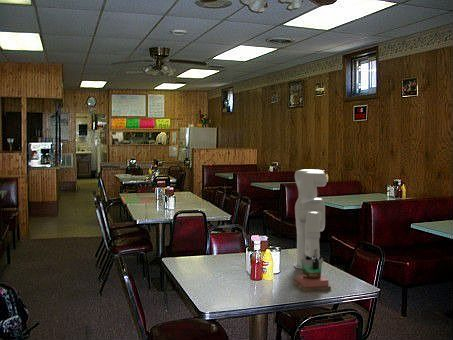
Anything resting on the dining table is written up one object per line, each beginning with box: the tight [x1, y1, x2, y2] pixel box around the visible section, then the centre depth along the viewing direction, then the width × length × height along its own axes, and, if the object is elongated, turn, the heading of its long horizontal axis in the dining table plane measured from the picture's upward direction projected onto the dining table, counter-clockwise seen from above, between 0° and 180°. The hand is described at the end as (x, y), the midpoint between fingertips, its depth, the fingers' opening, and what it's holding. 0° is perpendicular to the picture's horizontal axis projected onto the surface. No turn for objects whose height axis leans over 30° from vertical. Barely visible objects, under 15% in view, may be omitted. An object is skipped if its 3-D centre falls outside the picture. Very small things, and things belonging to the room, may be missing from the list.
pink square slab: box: [295, 273, 329, 287], centre depth 258 cm, size 13×13×3 cm
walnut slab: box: [293, 279, 332, 293], centre depth 258 cm, size 15×15×3 cm
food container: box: [301, 257, 324, 279], centre depth 256 cm, size 12×6×10 cm, turn 103°
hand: (312, 266), depth 257 cm, fingers open, 9 cm apart
